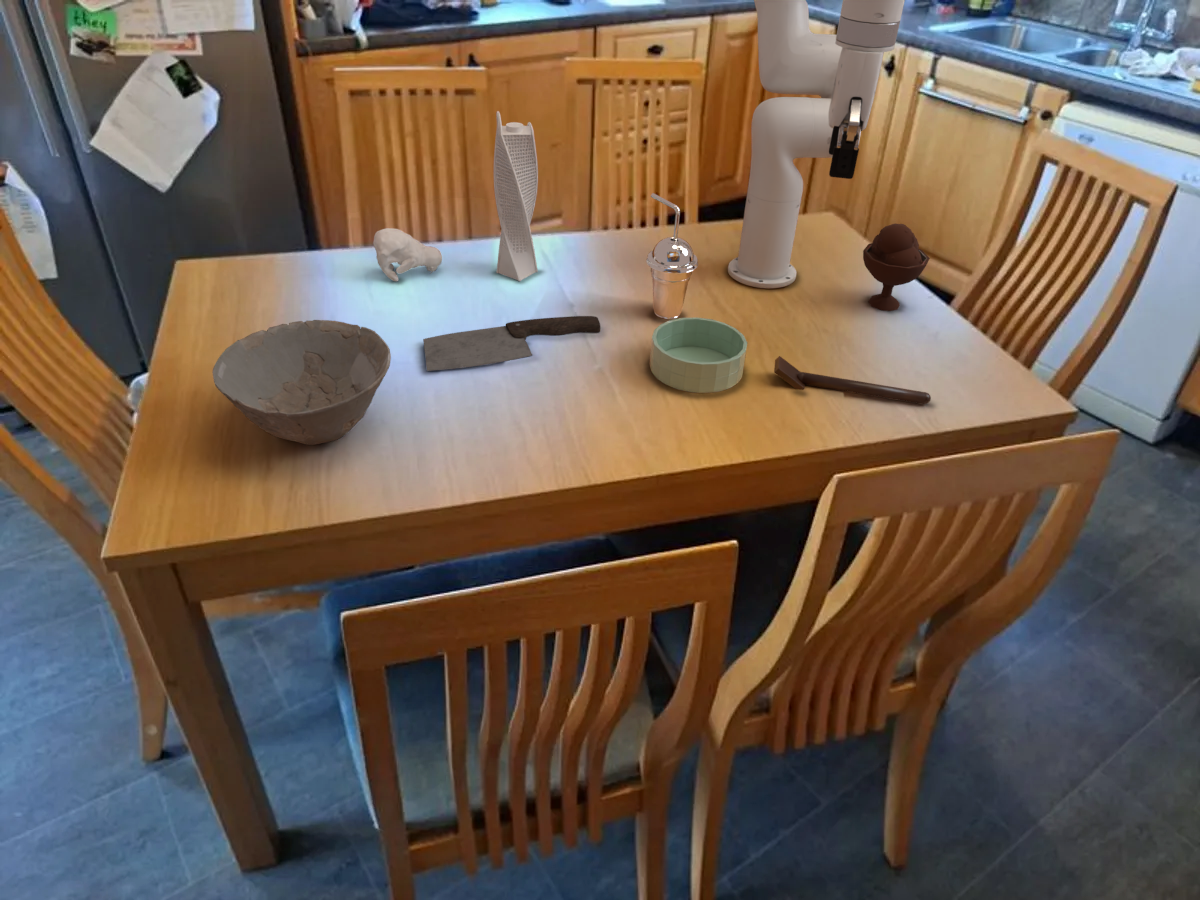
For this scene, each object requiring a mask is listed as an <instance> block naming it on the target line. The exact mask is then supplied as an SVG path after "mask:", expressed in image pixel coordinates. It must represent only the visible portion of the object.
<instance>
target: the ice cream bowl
mask: <svg viewBox="0 0 1200 900" xmlns="http://www.w3.org/2000/svg"><path fill="white" fill-rule="evenodd" d="M916 237H917V236H915V233H914V232H913V231H912V229H911V228H910V227H908V226H907V225H906V224H904V223H891V224H889V225H885V226H884V227H882V228H881V229H880V230H879V233H878V234H877V235H875V236H874V238H873V241H872V242H871V243H868V244H867V245H866V246H865V247H864V249H863V250H862V260H863V264H864V266H865V268H866V269H867V271H868V272H869V273H870V275H871V276H872V277H873V278H874V279H875V280H876V281H877V282H878V283H881V284H882V288H881V292H880V293H877V294H873V295H871V296H870V298H869V299H868V301H867V303H868V304H869V306H870V307H871V308H874V309H876V310H879V311H883V312H893V311H897V310H899V308H900V307H901V305H900V304H901V303H900V302H899V300H898V299H897V298H895V297H894V296H893V289H894V287H897V286H901V285H905V284H909V283H912V282H913V281H914V280H916V279H918V278H919V277H920V275H921V274H922V273H923V272H924V270H925V268H926V267H927V265H928V263H929V261H930V257H929V256H928V255H927V254H926V253H925V252H924V251H923V249H920V248H919V247H920V244H919V241H918V238H916Z"/></svg>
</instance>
